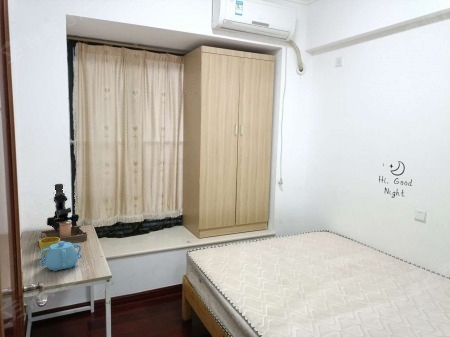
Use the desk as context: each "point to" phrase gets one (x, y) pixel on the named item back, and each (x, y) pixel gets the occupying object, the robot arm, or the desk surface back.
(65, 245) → the decorative pot
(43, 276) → the desk surface
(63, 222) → the terracotta pot
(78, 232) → the frame
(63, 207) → the robot arm
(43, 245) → the plant pot
